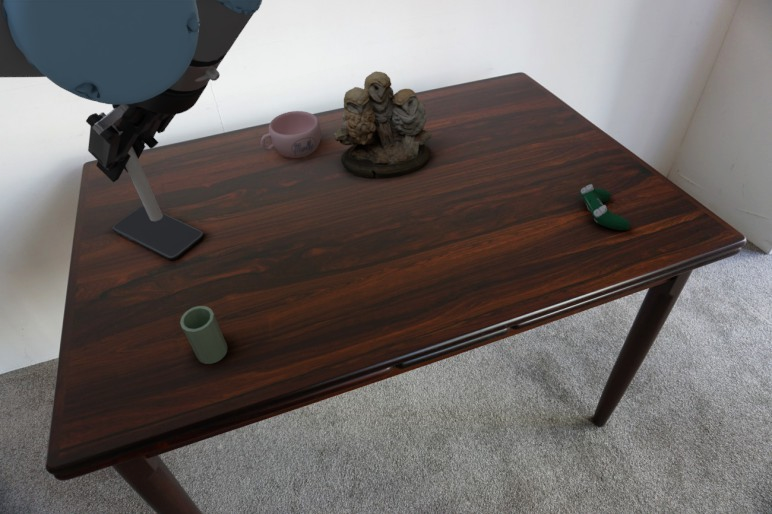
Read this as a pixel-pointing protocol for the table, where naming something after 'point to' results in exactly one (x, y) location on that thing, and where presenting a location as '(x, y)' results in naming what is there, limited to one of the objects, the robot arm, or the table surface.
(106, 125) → the robot arm
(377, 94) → the owl figurine
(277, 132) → the mug
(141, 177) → the stylus
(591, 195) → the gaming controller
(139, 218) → the smartphone
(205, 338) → the pen holder
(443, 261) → the table surface
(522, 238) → the table surface
